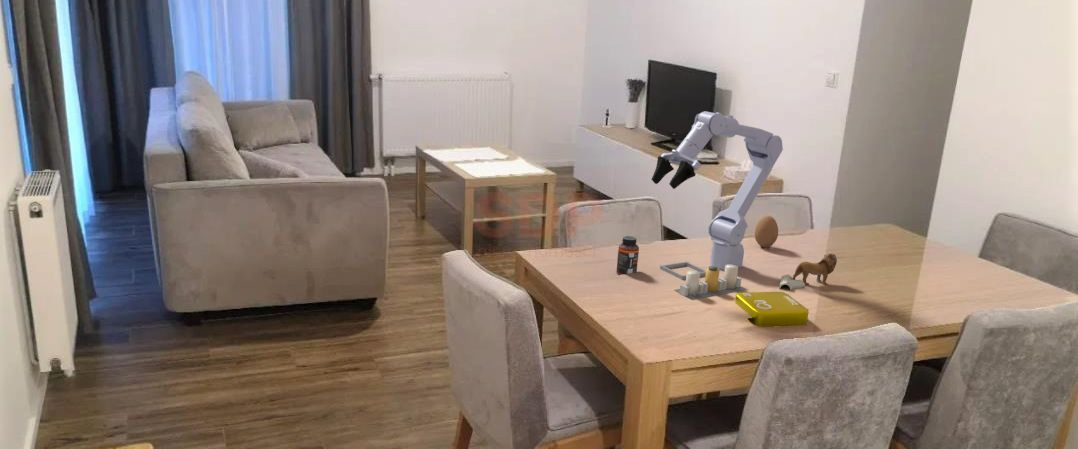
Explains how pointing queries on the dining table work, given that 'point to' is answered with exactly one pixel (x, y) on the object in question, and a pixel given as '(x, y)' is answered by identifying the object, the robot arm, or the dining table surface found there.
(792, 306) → the element tile
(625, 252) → the supplement bottle
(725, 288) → the fuse block
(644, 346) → the dining table surface
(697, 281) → the cream fuse
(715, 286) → the cylinder
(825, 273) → the lion figurine
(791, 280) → the pipe fitting
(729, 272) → the cream fuse
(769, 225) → the egg
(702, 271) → the grey tray
